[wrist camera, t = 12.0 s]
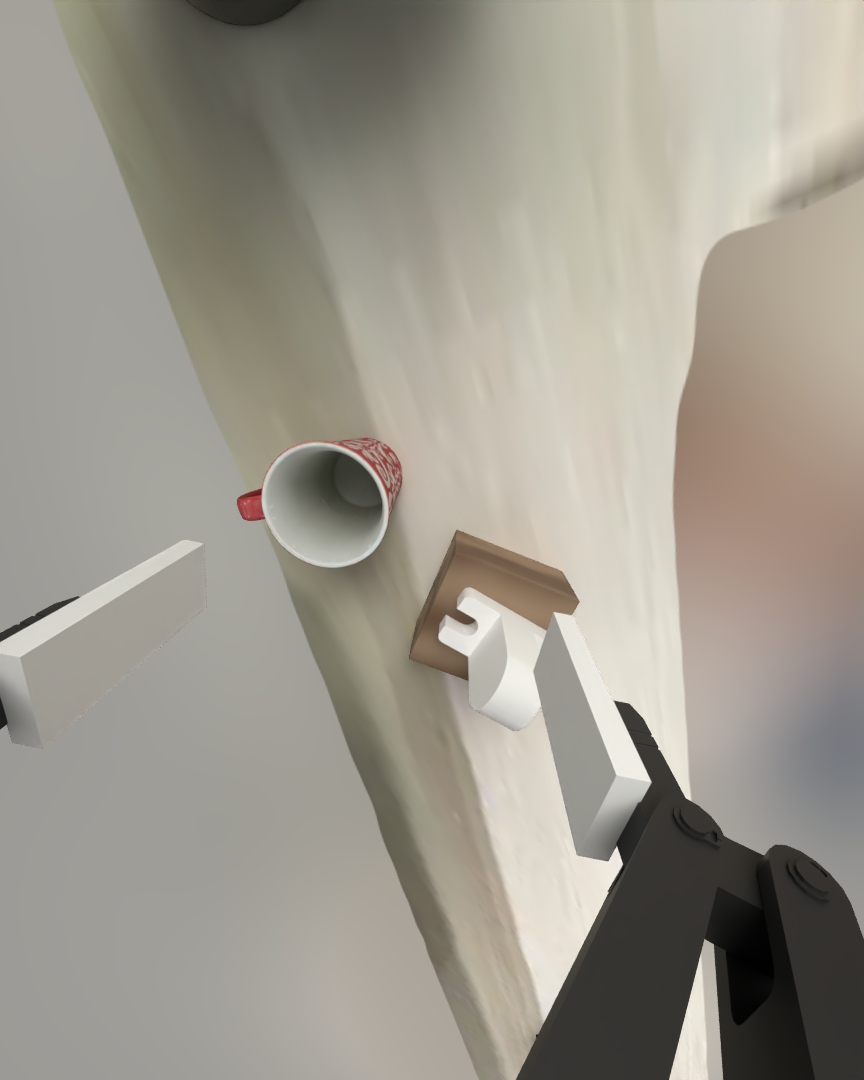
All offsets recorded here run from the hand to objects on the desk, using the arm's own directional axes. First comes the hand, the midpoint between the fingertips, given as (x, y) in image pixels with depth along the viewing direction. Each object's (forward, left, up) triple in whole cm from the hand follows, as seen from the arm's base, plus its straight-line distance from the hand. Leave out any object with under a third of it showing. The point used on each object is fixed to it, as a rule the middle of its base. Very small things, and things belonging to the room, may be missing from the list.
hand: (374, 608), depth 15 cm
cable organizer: (+12, +9, -20) cm, 25 cm away
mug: (+2, -8, -27) cm, 28 cm away
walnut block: (+12, +9, -27) cm, 31 cm away
